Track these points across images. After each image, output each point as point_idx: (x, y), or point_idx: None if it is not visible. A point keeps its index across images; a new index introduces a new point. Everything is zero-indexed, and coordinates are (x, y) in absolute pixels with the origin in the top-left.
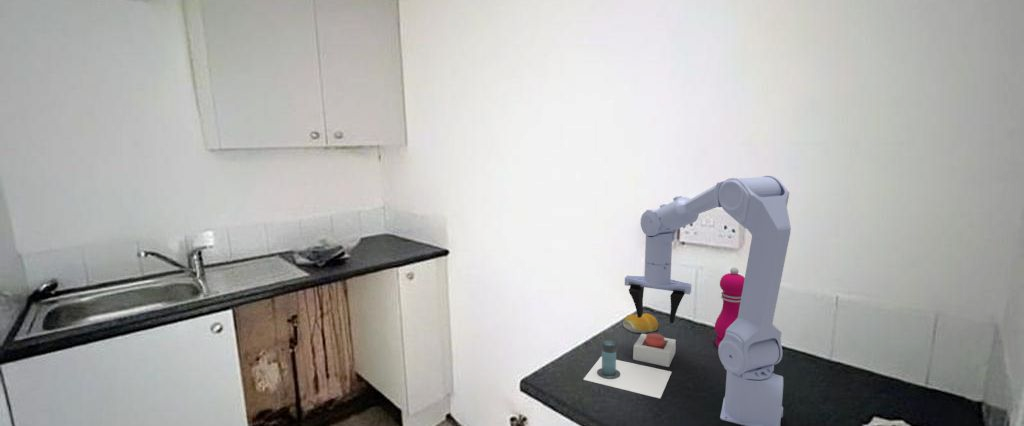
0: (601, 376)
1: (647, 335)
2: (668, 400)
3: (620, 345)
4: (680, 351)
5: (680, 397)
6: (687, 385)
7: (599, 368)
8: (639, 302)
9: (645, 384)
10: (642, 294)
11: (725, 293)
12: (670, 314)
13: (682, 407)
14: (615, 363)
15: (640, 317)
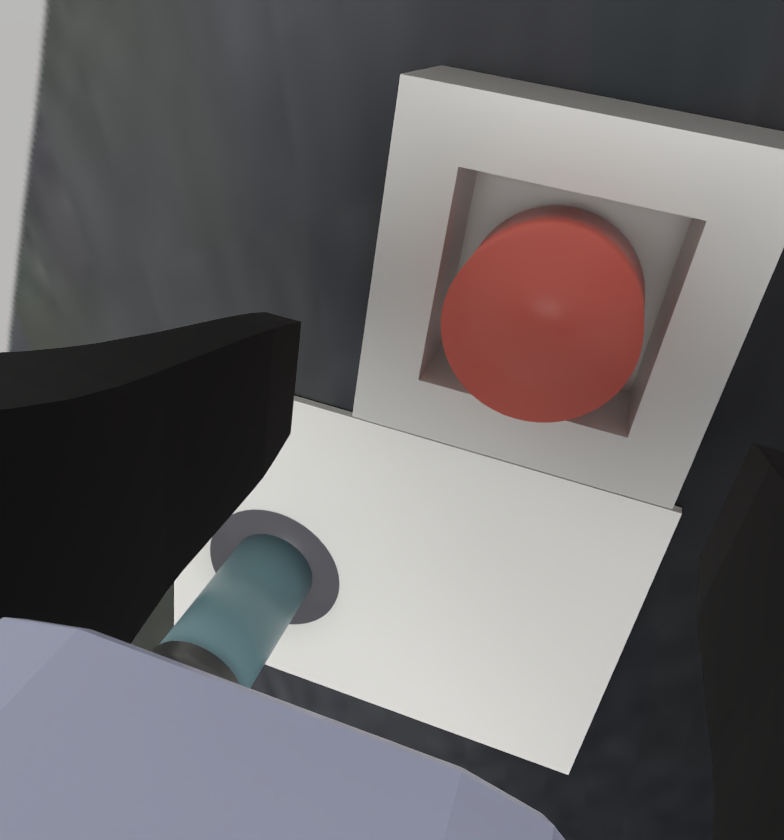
0: None
1: (452, 313)
2: (613, 771)
3: (256, 92)
4: None
5: (689, 751)
6: None
7: None
8: (145, 607)
9: (489, 663)
10: (74, 483)
11: None
12: (707, 691)
13: (682, 821)
14: (280, 636)
15: (289, 433)
